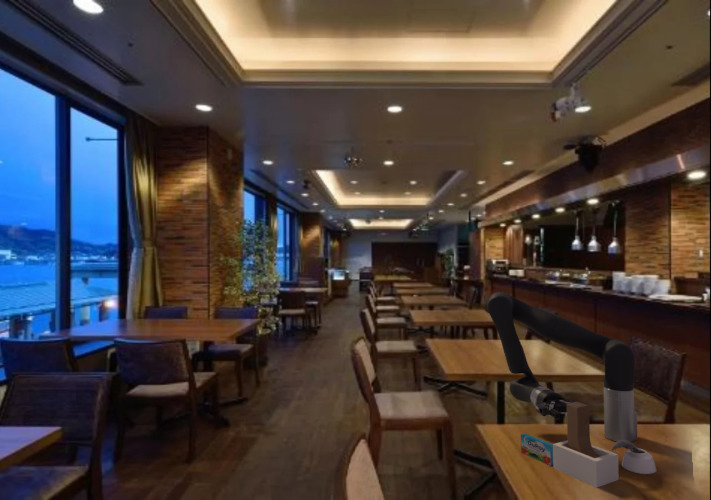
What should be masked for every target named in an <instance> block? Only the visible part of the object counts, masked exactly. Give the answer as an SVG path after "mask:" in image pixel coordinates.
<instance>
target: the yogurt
mask: <svg viewBox="0 0 711 500" xmlns="http://www.w3.org/2000/svg"><path fill="white" fill-rule="evenodd" d="M553 444H554V443H551V442H547V441H546V440H543V439H540V438H537V437H535V436H532V435H530V434H528V433H521V434H520V452H521V454H523V455H525V456H527V457H530V458H532V459H534V460H536V461H539V462H541V463H543V464H545V465H547V466H550V467H553Z"/></svg>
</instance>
